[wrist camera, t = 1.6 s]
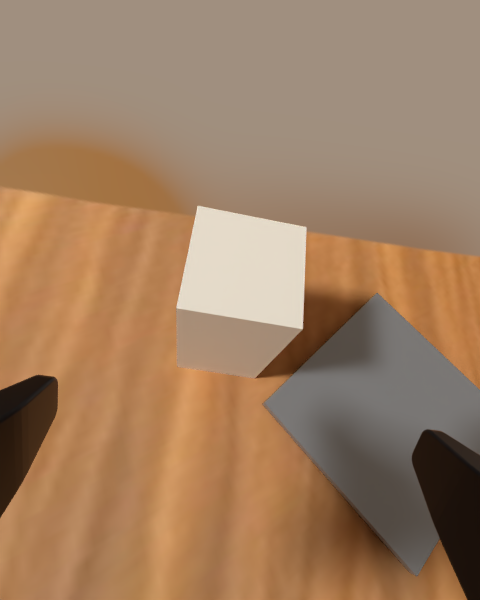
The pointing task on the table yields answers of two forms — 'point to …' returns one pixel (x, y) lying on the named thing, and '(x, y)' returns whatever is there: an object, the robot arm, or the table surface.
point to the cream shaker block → (239, 293)
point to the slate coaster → (378, 420)
